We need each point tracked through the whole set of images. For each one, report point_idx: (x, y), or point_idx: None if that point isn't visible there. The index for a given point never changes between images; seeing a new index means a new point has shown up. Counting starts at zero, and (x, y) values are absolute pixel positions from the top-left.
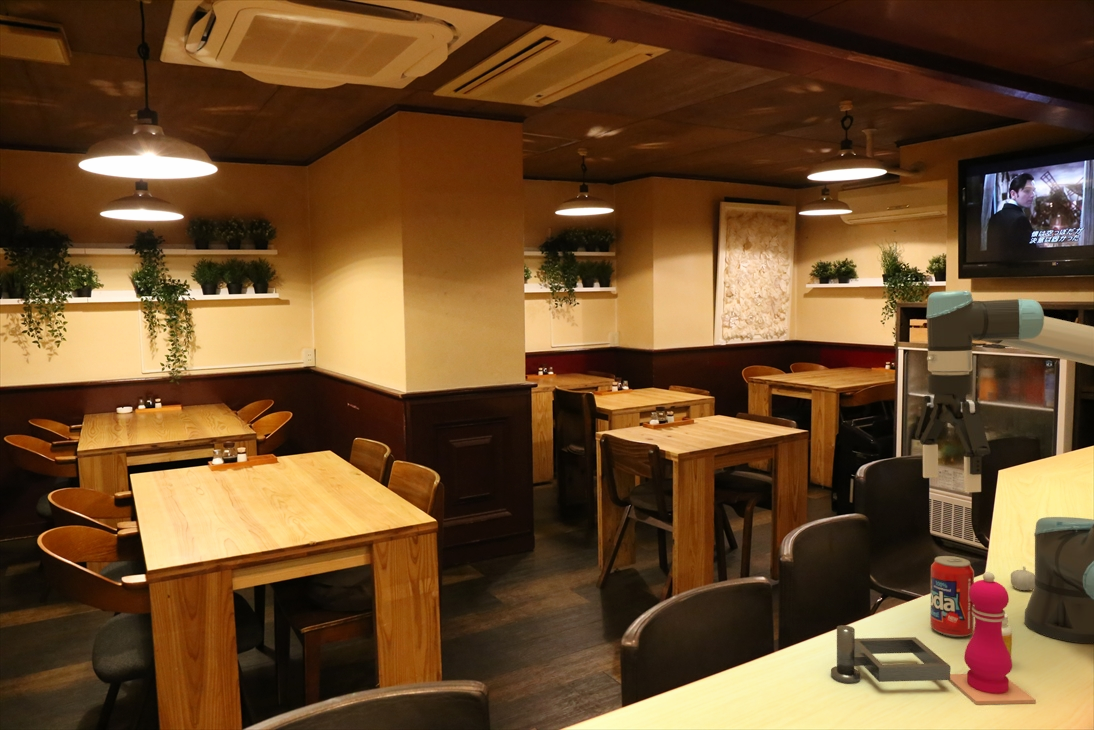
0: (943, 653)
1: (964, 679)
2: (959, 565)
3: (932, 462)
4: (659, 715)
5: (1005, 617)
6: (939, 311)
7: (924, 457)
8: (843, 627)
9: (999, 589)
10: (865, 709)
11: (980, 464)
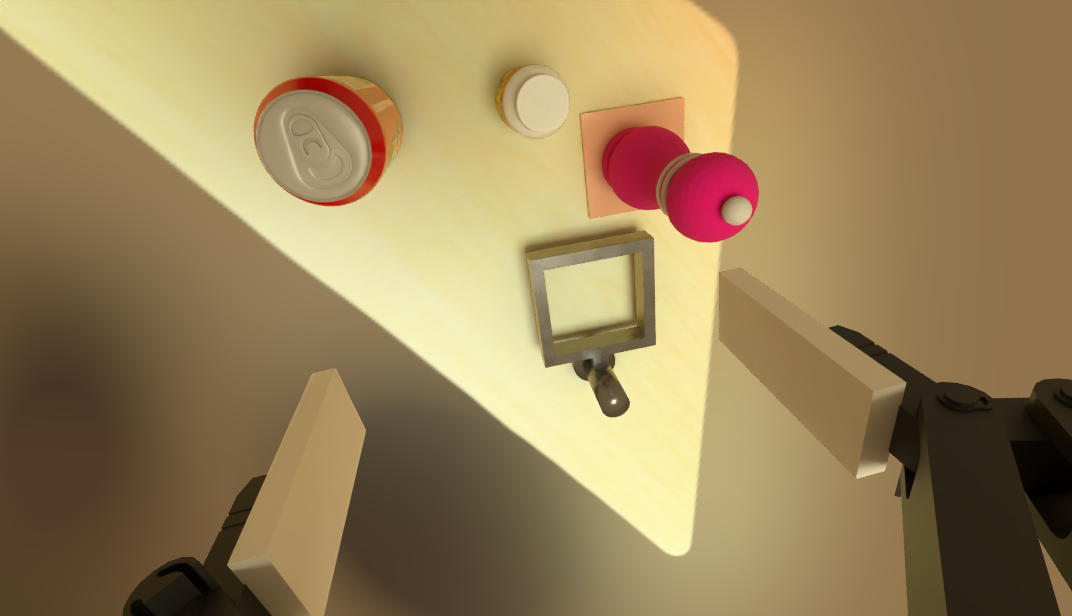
0: (483, 184)
1: (609, 192)
2: (366, 143)
3: (329, 464)
4: (682, 531)
5: (565, 89)
6: None
7: (337, 535)
8: (611, 408)
9: (756, 190)
10: (683, 348)
11: (901, 367)
